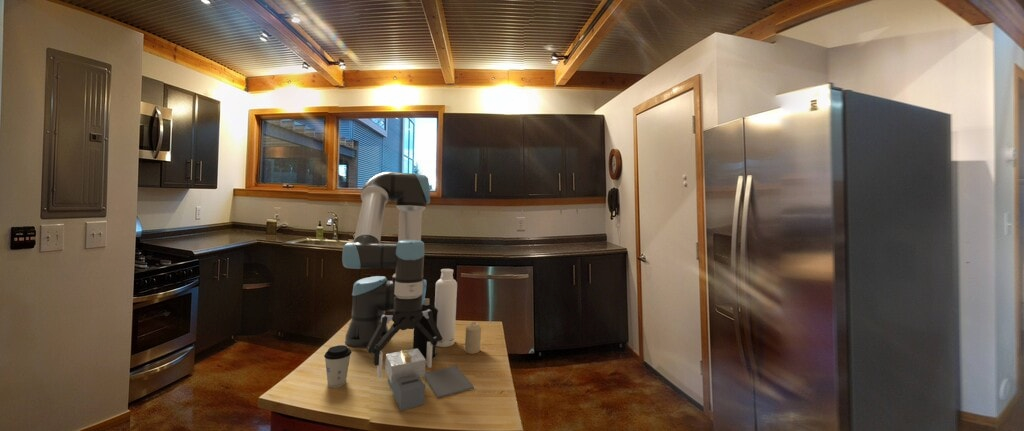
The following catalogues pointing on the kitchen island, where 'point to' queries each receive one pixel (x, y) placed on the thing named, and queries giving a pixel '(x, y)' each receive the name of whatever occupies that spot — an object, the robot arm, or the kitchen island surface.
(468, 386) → the rubber mat
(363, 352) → the kitchen island surface
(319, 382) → the kitchen island surface
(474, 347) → the candle
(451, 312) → the bottle
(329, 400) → the kitchen island surface
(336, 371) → the coffee cup
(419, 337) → the aerosol can
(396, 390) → the block plane
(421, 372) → the lever cap
